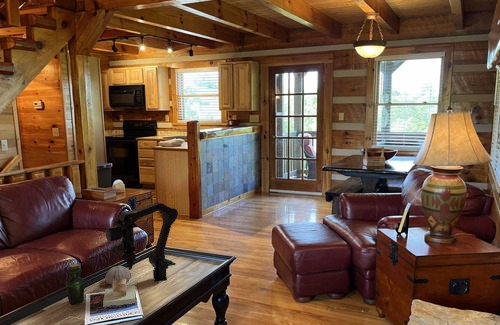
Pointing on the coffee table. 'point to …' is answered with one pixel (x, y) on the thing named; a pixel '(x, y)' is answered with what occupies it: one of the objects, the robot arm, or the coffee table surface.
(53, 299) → the coffee table surface
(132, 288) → the sage base block
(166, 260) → the decorative butterfly
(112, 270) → the sea urchin shell
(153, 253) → the robot arm
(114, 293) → the birch cube
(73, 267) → the potion bottle
